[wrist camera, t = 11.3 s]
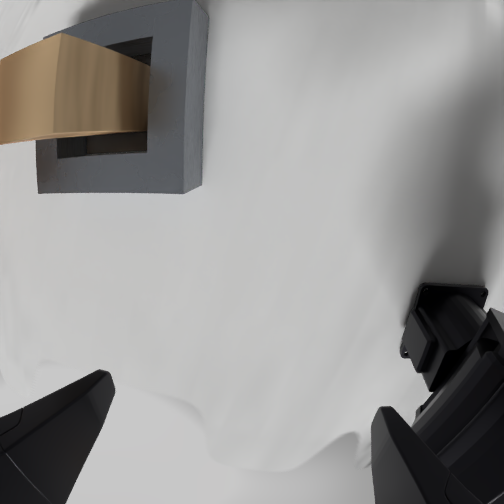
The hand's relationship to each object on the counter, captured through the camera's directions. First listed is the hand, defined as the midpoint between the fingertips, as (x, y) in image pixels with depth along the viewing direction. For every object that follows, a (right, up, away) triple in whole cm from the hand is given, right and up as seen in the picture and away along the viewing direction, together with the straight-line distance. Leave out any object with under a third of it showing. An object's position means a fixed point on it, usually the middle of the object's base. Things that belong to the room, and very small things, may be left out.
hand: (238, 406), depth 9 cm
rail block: (-8, +15, +10) cm, 20 cm away
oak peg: (-8, +15, +10) cm, 20 cm away
